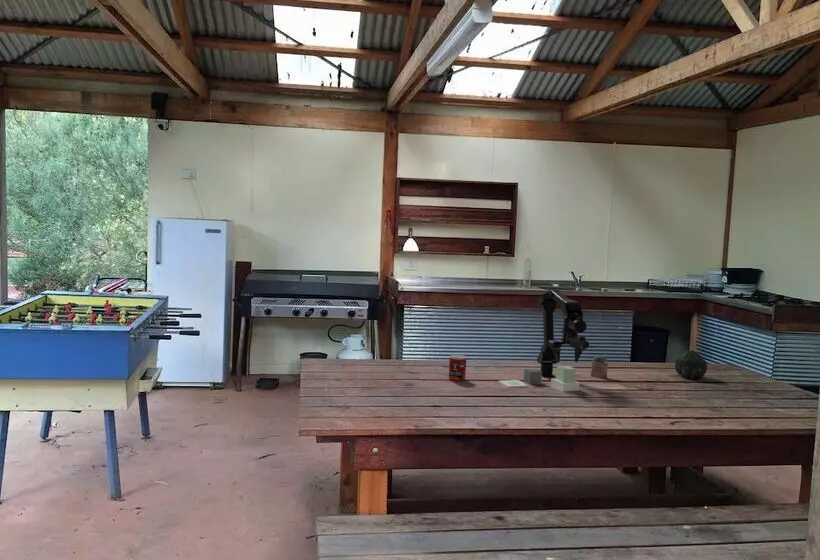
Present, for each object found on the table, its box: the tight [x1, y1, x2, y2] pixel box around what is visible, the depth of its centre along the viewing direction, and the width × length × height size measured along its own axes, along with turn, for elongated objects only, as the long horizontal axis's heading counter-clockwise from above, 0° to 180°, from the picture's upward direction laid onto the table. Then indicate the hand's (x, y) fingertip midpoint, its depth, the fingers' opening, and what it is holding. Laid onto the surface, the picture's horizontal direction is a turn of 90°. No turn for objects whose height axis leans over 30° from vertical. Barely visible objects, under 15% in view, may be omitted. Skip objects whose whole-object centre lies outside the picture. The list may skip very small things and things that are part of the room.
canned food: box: [448, 354, 467, 382], centre depth 299 cm, size 8×8×11 cm
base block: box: [550, 377, 580, 392], centre depth 291 cm, size 9×9×4 cm
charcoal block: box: [523, 368, 543, 385], centre depth 300 cm, size 6×6×6 cm
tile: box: [498, 379, 529, 388], centre depth 295 cm, size 10×10×1 cm
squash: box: [674, 350, 708, 380], centre depth 325 cm, size 14×15×15 cm
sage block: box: [555, 365, 576, 382], centre depth 291 cm, size 6×6×6 cm
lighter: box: [590, 356, 609, 379], centre depth 317 cm, size 8×3×10 cm, turn 62°
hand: (567, 362), depth 294 cm, fingers open, 9 cm apart
